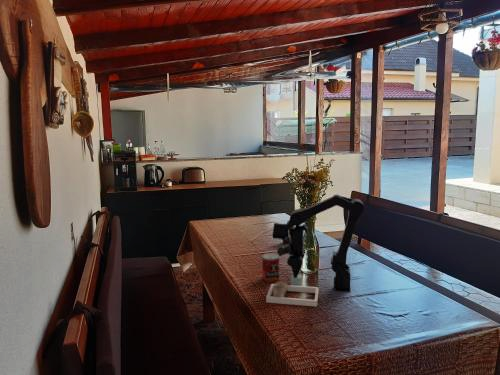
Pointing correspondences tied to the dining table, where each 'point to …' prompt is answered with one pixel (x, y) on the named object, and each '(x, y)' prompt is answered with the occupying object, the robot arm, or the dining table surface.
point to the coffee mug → (287, 239)
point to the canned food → (270, 267)
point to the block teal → (296, 280)
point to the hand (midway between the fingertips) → (296, 274)
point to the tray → (294, 300)
